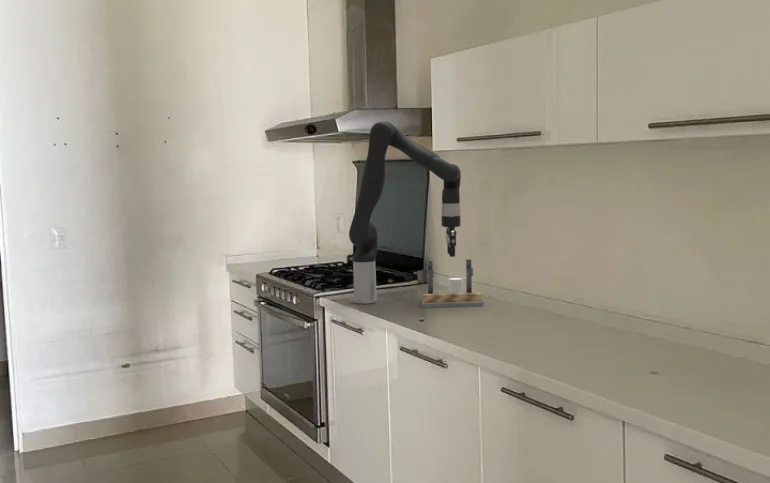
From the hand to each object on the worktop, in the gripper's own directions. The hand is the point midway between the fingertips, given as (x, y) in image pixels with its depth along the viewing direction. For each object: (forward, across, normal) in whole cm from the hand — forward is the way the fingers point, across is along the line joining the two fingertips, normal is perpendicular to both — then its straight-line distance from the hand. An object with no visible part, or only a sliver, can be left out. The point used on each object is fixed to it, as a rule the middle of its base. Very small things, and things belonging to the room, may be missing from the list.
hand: (451, 255), depth 303 cm
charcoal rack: (+20, -8, 0) cm, 22 cm away
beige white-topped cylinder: (+20, -24, +4) cm, 32 cm away
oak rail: (+19, 0, 0) cm, 19 cm away
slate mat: (+20, 0, 0) cm, 20 cm away
